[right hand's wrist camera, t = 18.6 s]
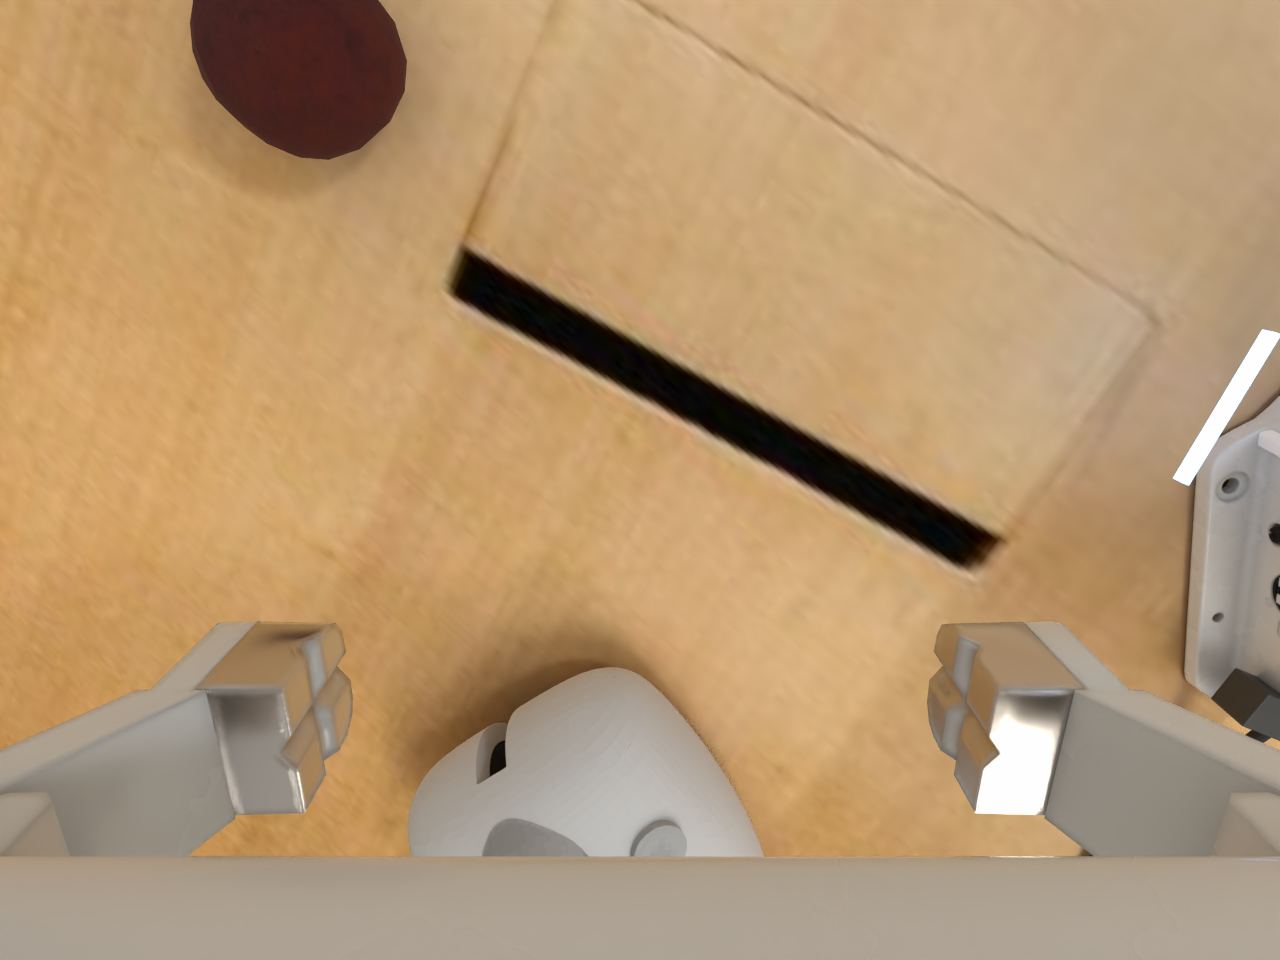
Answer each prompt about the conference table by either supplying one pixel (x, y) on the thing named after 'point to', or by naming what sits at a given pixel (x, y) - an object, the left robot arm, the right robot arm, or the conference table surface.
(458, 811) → the white molded housing
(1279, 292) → the conference table surface
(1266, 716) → the right robot arm
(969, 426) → the conference table surface
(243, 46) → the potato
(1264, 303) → the conference table surface
